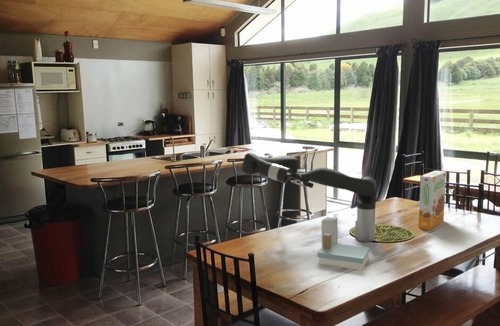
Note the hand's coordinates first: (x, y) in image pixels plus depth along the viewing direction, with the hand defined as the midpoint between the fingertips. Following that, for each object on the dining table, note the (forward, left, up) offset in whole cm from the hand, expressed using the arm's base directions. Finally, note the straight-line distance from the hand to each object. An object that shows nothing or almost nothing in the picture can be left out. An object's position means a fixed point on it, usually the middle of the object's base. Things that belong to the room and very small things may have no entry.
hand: (310, 183), depth 209 cm
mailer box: (+13, +9, -36) cm, 39 cm away
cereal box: (+1, +92, -36) cm, 99 cm away
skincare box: (-5, +17, -36) cm, 41 cm away
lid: (+13, +9, -33) cm, 36 cm away
